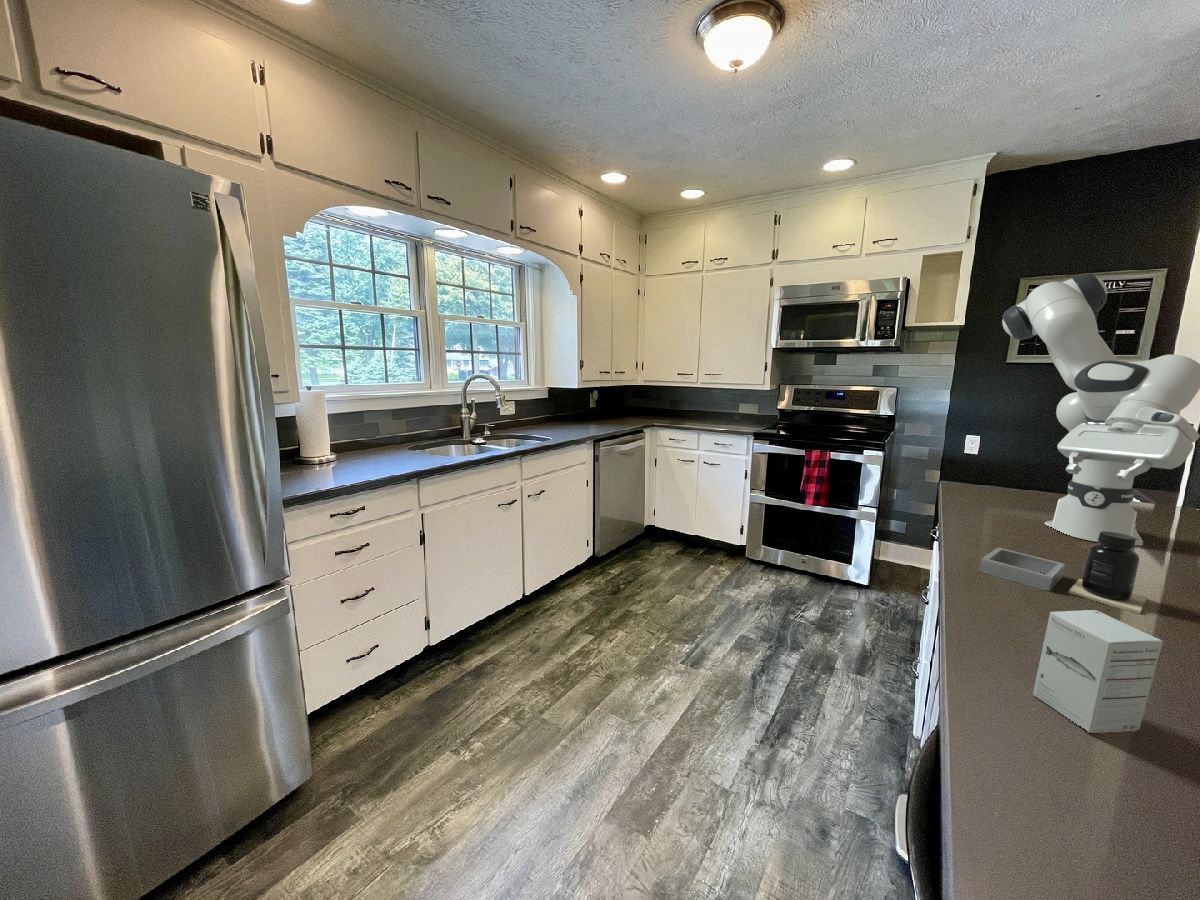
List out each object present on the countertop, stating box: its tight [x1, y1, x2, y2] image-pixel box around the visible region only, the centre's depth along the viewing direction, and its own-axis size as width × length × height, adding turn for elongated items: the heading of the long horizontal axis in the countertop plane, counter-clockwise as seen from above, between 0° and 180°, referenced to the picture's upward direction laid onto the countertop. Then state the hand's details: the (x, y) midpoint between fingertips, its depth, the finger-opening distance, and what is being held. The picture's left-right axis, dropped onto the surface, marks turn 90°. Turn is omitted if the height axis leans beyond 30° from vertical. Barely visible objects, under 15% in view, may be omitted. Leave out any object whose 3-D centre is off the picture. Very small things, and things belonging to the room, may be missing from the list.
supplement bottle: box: [1082, 531, 1140, 600], centre depth 93 cm, size 7×7×12 cm
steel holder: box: [979, 546, 1066, 592], centre depth 104 cm, size 12×12×3 cm
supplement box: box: [1032, 609, 1164, 732], centre depth 61 cm, size 7×7×13 cm
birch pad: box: [1067, 578, 1148, 615], centre depth 94 cm, size 10×10×1 cm
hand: (1095, 475), depth 100 cm, fingers open, 8 cm apart
